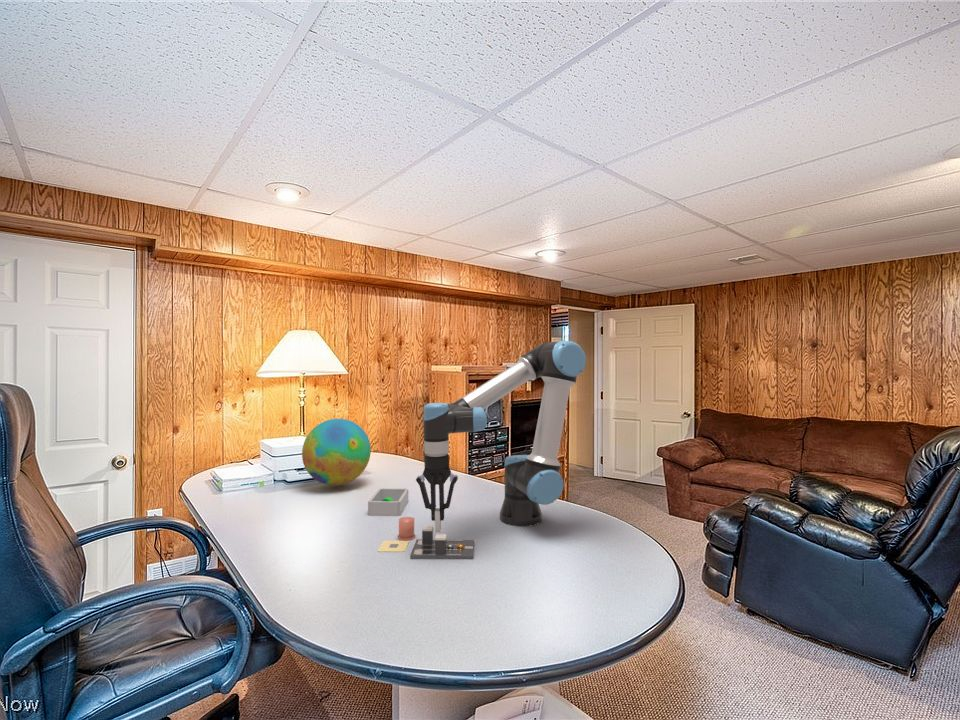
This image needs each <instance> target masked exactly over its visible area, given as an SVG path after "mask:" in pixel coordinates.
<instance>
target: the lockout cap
mask: <svg viewBox="0 0 960 720" xmlns="http://www.w3.org/2000/svg"><path fill="white" fill-rule="evenodd" d="M415 538H416V534H415V518H414V517H411V516H404V517H400V518H399V519H398V535H397V540H398V541H413V540H414V539H415Z"/></svg>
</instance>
